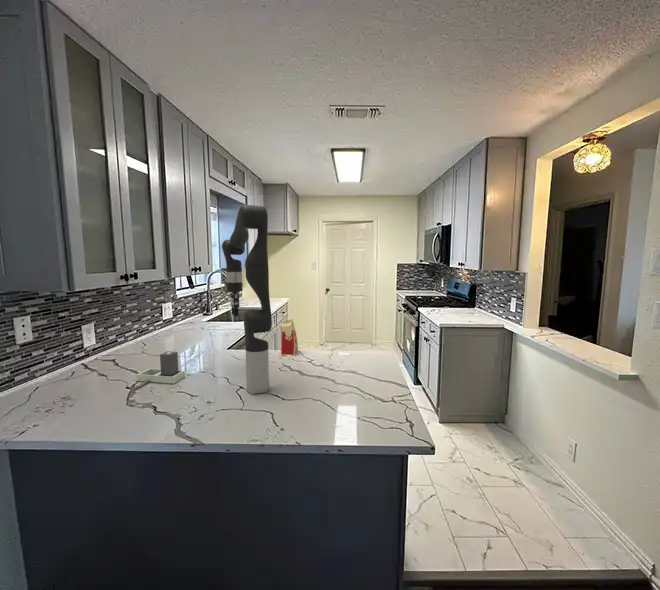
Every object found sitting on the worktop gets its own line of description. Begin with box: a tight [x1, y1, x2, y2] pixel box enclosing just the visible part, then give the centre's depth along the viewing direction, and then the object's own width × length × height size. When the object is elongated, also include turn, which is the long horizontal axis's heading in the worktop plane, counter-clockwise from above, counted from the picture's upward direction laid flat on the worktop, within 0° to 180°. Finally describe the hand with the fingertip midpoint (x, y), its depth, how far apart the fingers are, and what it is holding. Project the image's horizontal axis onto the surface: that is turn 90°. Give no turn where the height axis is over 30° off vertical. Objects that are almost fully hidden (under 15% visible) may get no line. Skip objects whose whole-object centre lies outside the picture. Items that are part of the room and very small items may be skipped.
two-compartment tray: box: [132, 368, 186, 391], centre depth 147 cm, size 17×18×3 cm
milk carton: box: [280, 318, 299, 357], centre depth 190 cm, size 9×9×20 cm
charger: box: [159, 350, 179, 377], centre depth 150 cm, size 5×5×12 cm
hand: (234, 315), depth 163 cm, fingers open, 8 cm apart
